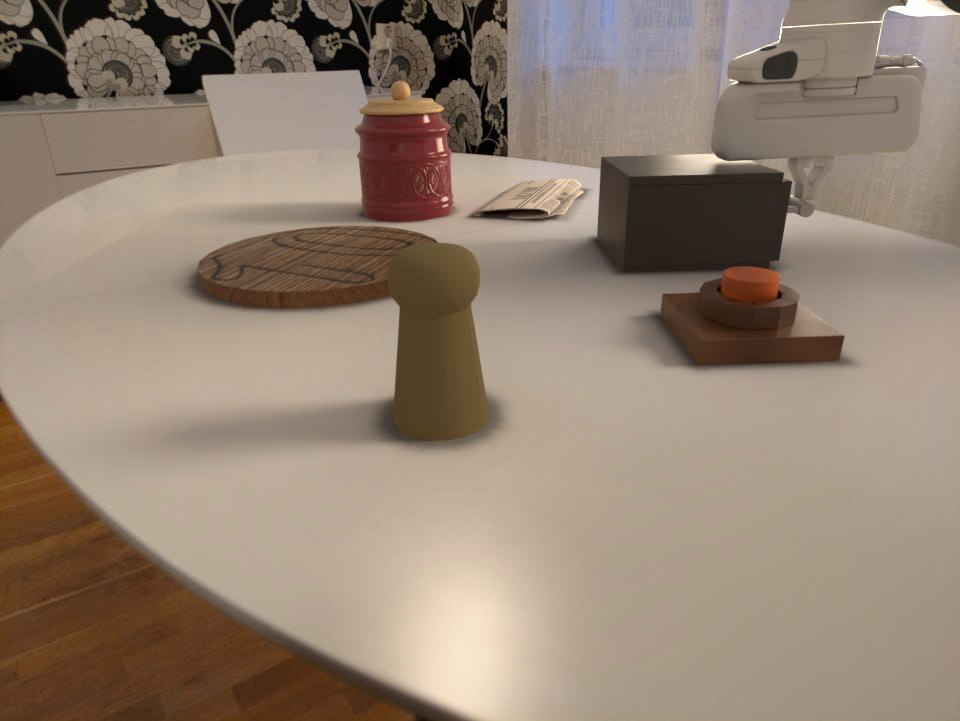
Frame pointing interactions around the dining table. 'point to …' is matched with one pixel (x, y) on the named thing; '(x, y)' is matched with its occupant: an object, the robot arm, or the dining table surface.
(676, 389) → the dining table surface
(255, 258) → the trivet
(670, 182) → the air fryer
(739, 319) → the control block
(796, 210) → the dark piece
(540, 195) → the newspaper
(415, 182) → the kitchen canister
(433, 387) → the olive game pawn
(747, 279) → the button
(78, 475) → the dining table surface
